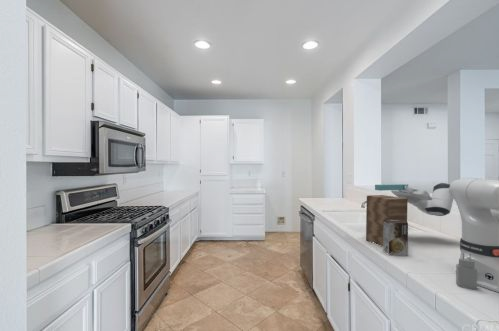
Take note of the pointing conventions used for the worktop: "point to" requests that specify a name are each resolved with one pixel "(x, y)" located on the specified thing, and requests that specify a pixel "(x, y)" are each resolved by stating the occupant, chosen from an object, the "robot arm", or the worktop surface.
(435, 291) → the worktop surface
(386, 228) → the coffee box
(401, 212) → the walnut stand
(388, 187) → the teal bar
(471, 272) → the power adapter
